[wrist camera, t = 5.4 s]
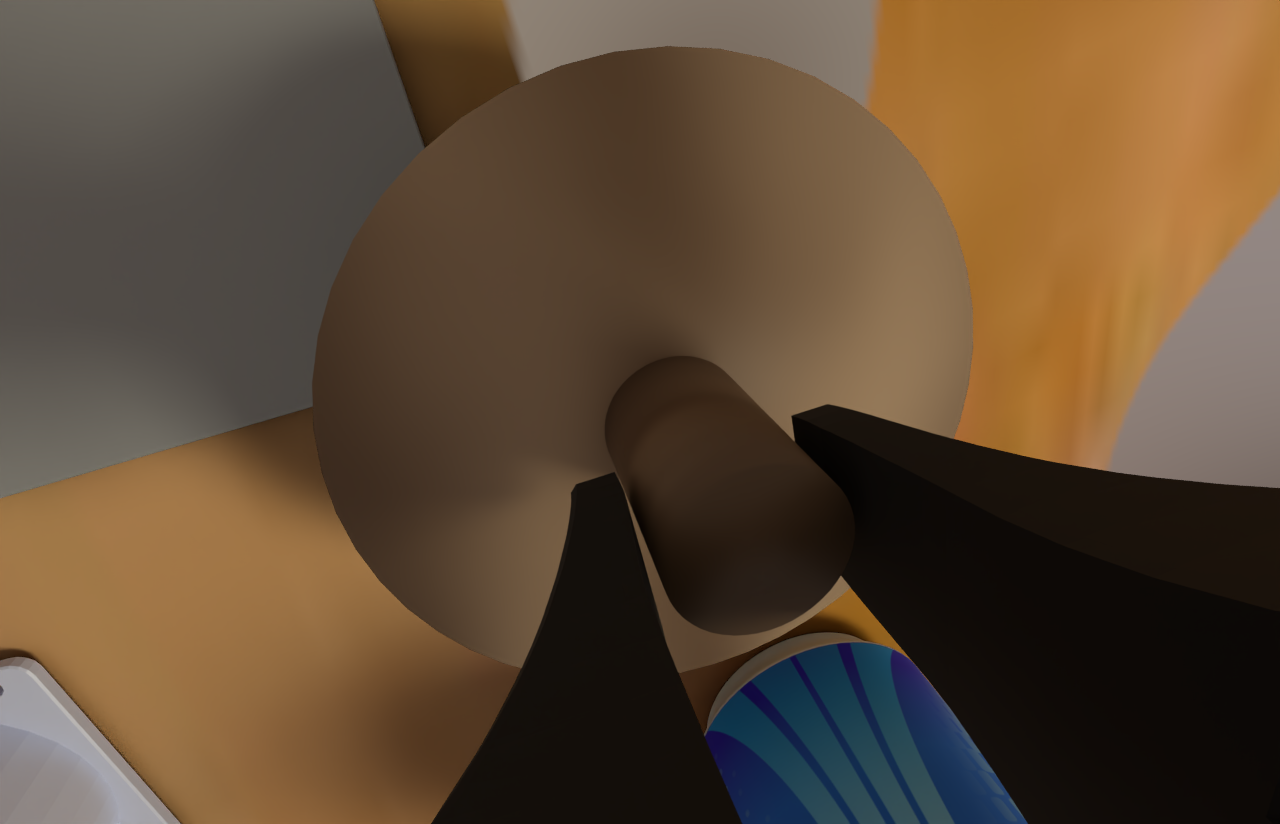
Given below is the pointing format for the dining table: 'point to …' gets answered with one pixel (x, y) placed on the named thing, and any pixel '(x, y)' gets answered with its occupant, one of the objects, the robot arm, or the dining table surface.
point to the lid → (634, 342)
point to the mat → (177, 214)
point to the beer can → (847, 741)
